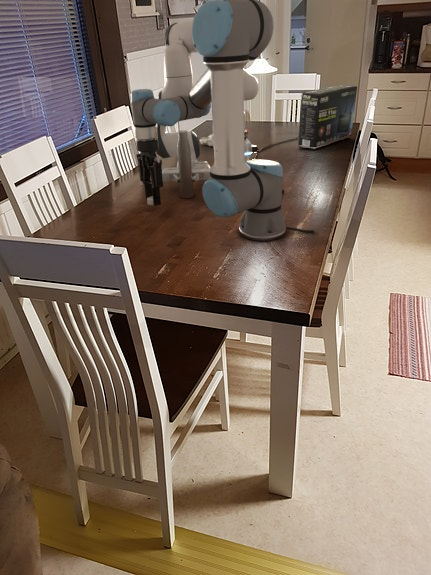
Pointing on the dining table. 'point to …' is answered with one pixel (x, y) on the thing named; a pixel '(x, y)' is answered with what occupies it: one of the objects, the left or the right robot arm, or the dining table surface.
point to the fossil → (207, 140)
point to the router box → (326, 115)
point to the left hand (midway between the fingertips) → (186, 180)
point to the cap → (150, 200)
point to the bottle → (184, 165)
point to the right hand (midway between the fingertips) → (153, 202)
